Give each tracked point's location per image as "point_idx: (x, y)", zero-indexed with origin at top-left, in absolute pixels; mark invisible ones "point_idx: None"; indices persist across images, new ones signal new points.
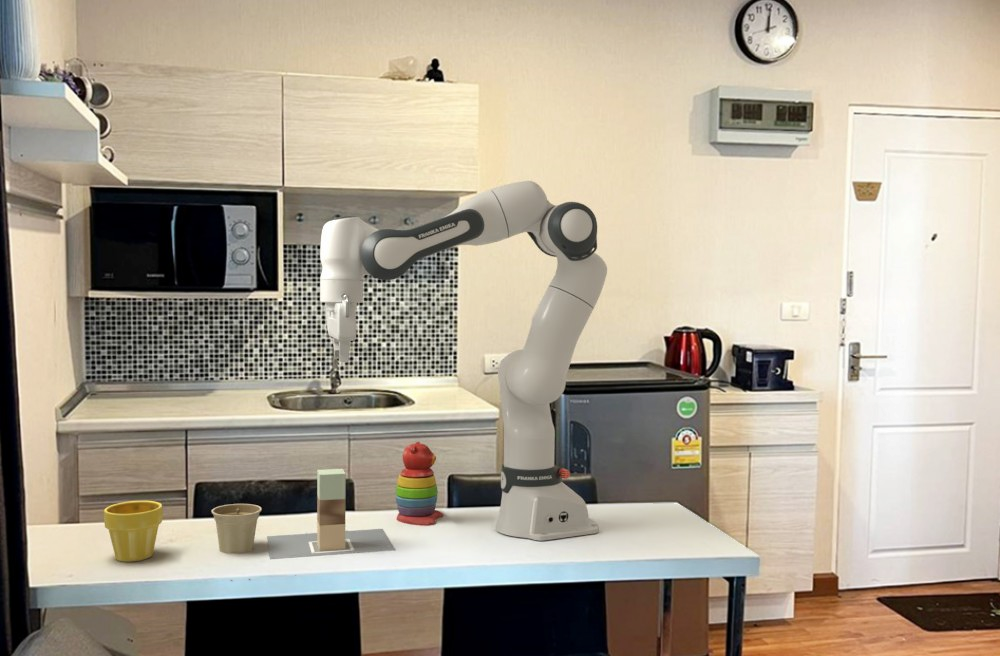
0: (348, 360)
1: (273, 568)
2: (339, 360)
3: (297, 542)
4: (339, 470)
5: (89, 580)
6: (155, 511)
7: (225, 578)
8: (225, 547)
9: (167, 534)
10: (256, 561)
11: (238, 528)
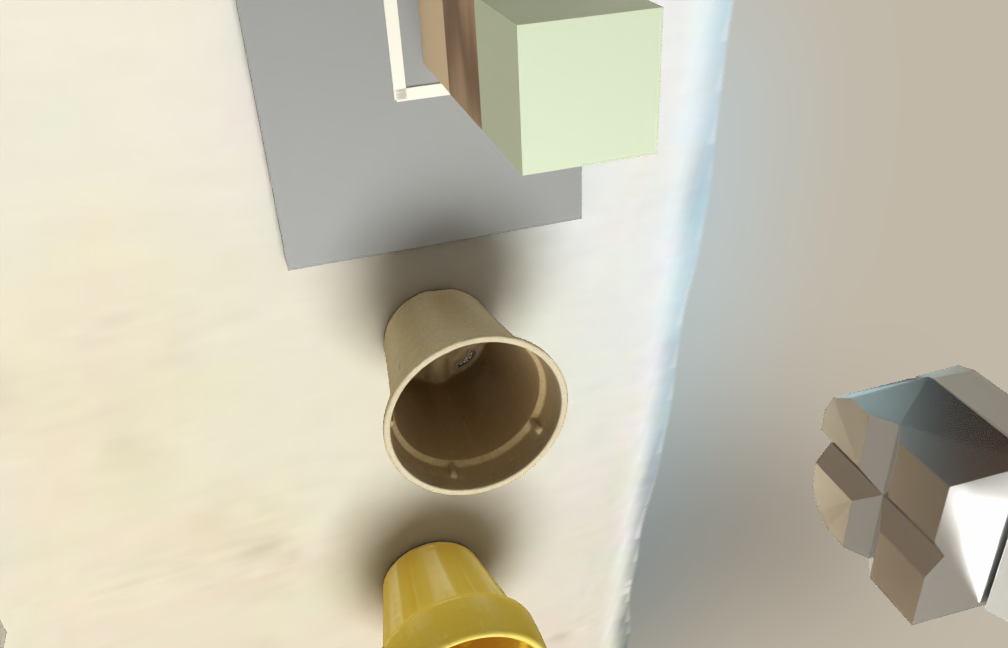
0: (971, 373)
1: (629, 194)
2: (838, 518)
3: (394, 145)
4: (568, 44)
5: (604, 591)
6: (515, 629)
7: (681, 311)
8: (492, 372)
9: (184, 582)
10: (544, 257)
11: (532, 369)
